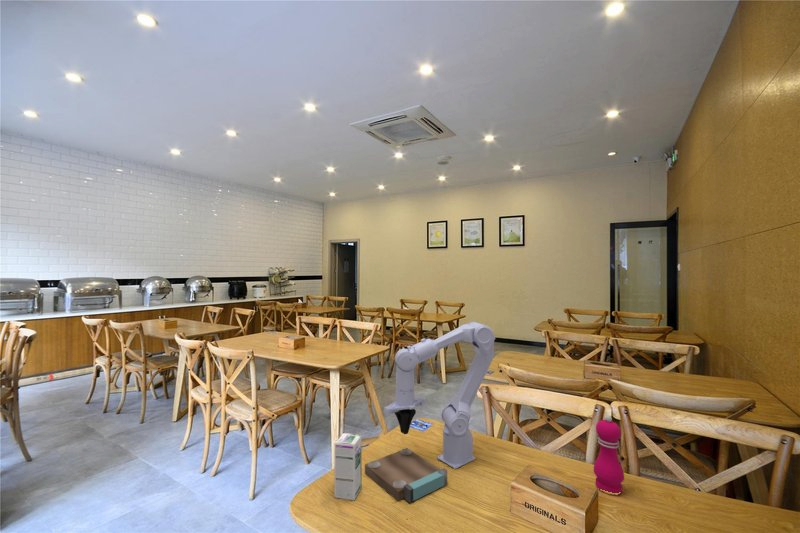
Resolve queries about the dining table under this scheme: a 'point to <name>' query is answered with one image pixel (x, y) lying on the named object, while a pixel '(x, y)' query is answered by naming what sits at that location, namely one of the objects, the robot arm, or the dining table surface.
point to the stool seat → (398, 471)
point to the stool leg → (425, 485)
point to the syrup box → (348, 466)
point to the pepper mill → (608, 457)
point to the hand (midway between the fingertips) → (404, 432)
